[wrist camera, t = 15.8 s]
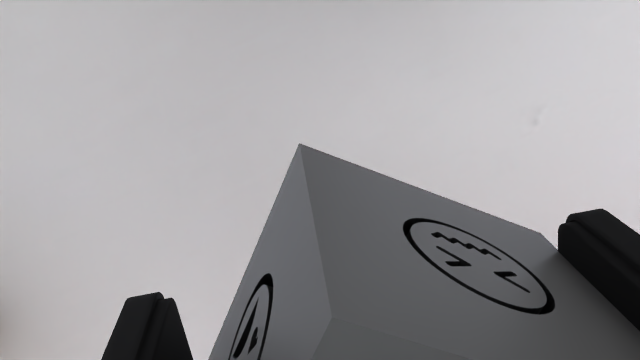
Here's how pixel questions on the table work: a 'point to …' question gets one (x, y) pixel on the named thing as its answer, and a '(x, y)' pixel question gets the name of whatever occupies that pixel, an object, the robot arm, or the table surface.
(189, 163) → the table surface
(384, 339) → the dice cube
